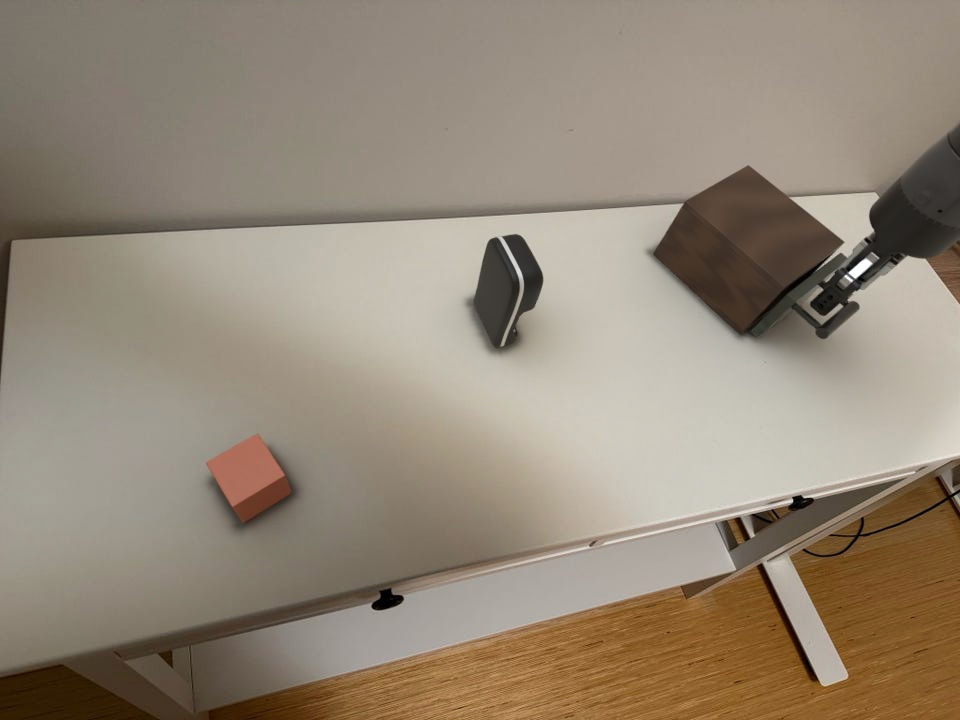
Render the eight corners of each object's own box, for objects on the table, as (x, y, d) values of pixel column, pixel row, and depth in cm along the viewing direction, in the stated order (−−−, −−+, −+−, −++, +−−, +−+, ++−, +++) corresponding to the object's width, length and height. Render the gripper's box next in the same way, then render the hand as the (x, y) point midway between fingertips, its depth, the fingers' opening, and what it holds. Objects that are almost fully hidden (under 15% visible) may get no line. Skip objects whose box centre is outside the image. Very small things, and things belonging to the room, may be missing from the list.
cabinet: (797, 290, 75) (845, 241, 68) (739, 334, 70) (785, 287, 62) (712, 217, 80) (748, 164, 72) (652, 253, 75) (684, 200, 67)
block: (292, 493, 52) (285, 475, 48) (243, 523, 50) (232, 507, 46) (266, 453, 54) (257, 432, 50) (217, 481, 52) (205, 462, 48)
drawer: (841, 324, 72) (885, 287, 66) (790, 368, 67) (833, 333, 61) (728, 227, 78) (759, 186, 72) (674, 261, 73) (702, 220, 67)
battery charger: (526, 342, 64) (553, 277, 55) (494, 351, 63) (516, 285, 54) (501, 293, 67) (523, 223, 58) (471, 300, 66) (488, 229, 57)
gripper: (948, 251, 48) (814, 359, 63) (1010, 195, 54) (874, 305, 69) (873, 194, 51) (761, 310, 65) (939, 146, 56) (822, 263, 71)
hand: (819, 308), depth 67 cm, fingers closed
